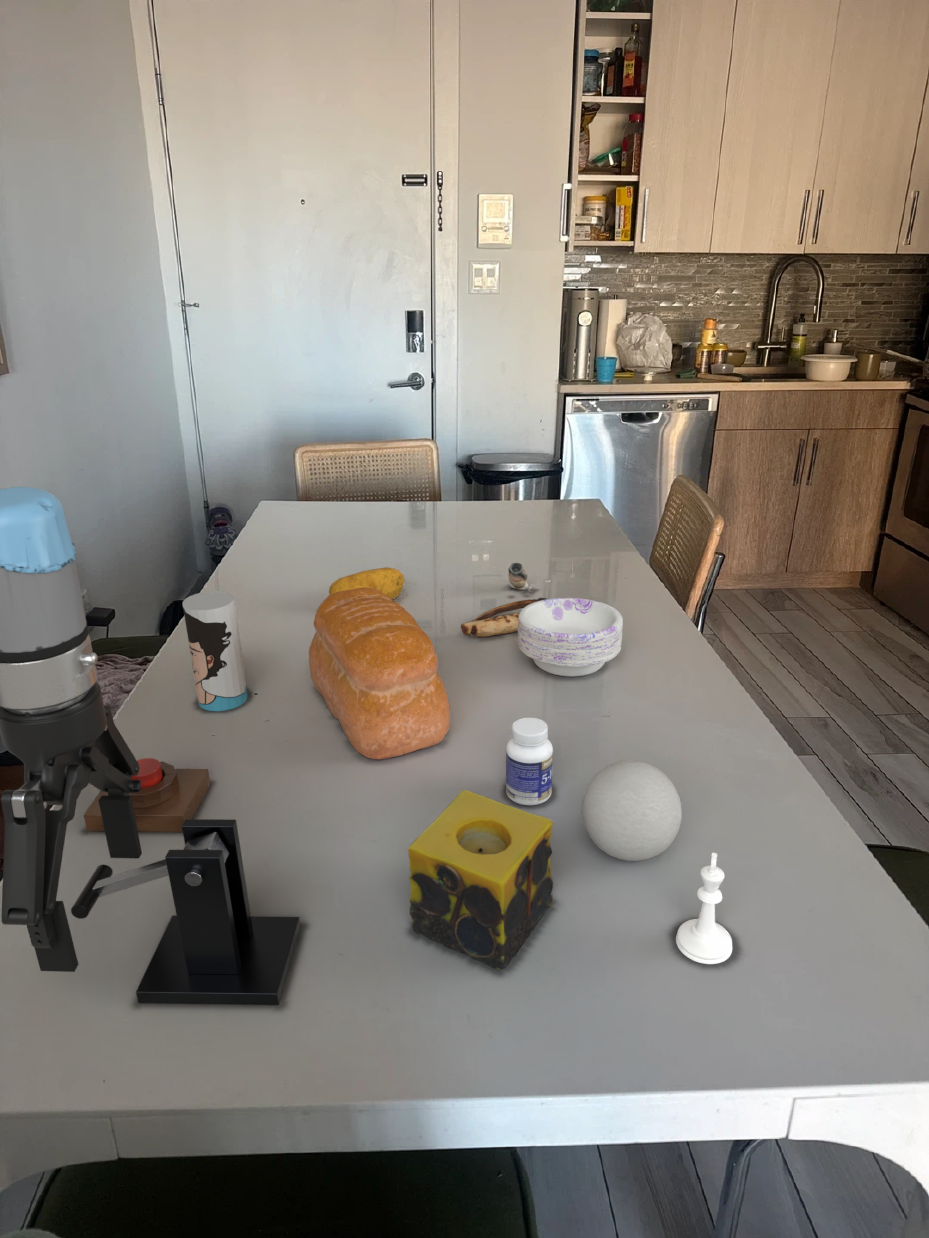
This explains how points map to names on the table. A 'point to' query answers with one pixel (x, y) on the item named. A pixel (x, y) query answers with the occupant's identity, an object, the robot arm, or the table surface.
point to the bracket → (217, 931)
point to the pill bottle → (529, 762)
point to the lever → (134, 875)
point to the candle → (481, 878)
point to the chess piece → (706, 923)
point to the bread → (378, 674)
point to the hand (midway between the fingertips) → (95, 907)
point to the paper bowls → (570, 635)
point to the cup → (215, 650)
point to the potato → (372, 581)
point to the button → (149, 772)
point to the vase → (518, 577)
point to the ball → (631, 810)
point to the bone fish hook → (496, 620)
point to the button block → (161, 801)
